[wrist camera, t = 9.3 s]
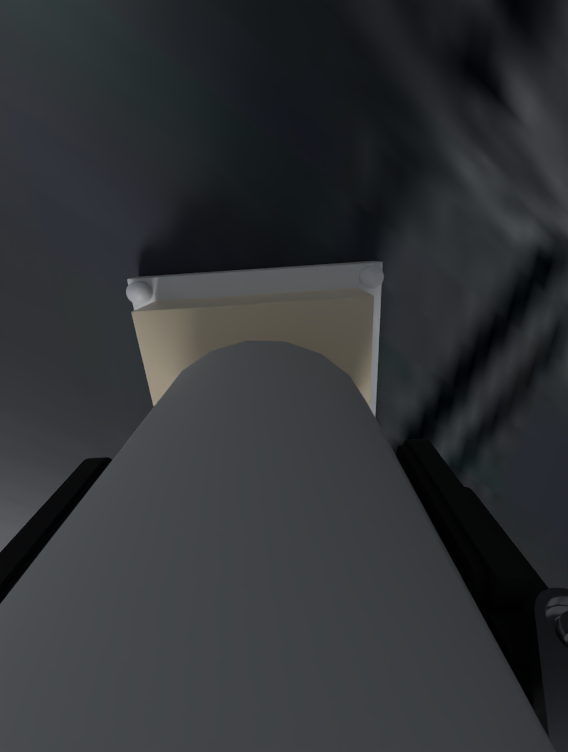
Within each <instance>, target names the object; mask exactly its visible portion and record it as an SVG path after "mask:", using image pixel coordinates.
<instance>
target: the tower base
mask: <svg viewBox="0 0 568 752" xmlns="http://www.w3.org/2000/svg"><path fill="white" fill-rule="evenodd" d="M382 264H383V262H379V261H366V262H351V263H336V264H321V265H306V266H291V267H276V268H261V269H246V270H231V271H216V272H202V273H187V274H172V275H157V276H142V277H135V278H131V279H127V281H128V287H127V289H126V294H127V297H128V298H129V300H130V301H131V302H133V307H134V311H132V312H131V313H132V317H133V321H134V325H135V330H136V334H137V338H138V342H139V346H140V351H141V355H142V359H143V363H144V368H145V372H146V376H147V380H148V384H149V389H150V393H151V397H152V401H153V405H154V406H155V405H156V404H157V402H158V401H159V400H160V398H161V397H162V396H163V395H164V393H165V392H166V391H167V389H168V388H169V387H170V386H171V384H172V383H173V382H174V380H175V379H176V378H177V377H178V375H179V374H180V373H181V371H182V370H184V369H185V368H187V367H188V366H190V365H191V364H193V363H194V362H196V361H197V360H198V359H200V358H201V357H203V356H204V355H206V354H207V353H209V352H210V351H212V350H216V349H219V348H223V347H226V346H230V345H233V344H237V343H240V342H244V341H247V340H248V341H282V342H288V343H291V344H294V345H297V346H300V347H303V348H306V349H309V350H311V351H314V352H317V353H320V354H322V355H323V356H325V357H326V358H327V359H329V360H330V361H331V362H333V363H334V364H335V365H336V366H338V367H339V368H340V369H342V370H343V371H344V372H346V373H347V374H348V375H350V377H351V379H352V380H353V382H354V383H355V385H356V386H357V388H358V389H359V391H360V392H361V394H362V395H363V397H364V399H365V400H366V402H367V403H368V405H369V407H370V409H371V411H372V413H373V414H374V416H375V413H376V391H377V370H378V349H379V328H380V306H381V285H382V282H383V279H384V274H383V271H382Z"/></svg>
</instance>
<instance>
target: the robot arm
mask: <svg viewBox="0 0 568 752" xmlns="http://www.w3.org/2000/svg"><path fill="white" fill-rule="evenodd" d="M397 459H398V461H399V462H400V464H401V466H402V468H403V470H404V472H405V474H406V475H407V477H408V479H409V481H410V483H411V485H412V486H413V488H414V490H415V492H416V494H417V496H418V498H419V499H420V501H421V503H422V505H423V507H424V509H425V510H426V512H427V514H428V516H429V518H430V520H431V522H432V523H433V525H434V527H435V529H436V531H437V533H438V535H439V536H440V538H441V540H442V542H443V544H444V546H445V547H446V549H447V551H448V553H449V555H450V557H451V559H452V560H453V562H454V564H455V566H456V568H457V570H458V571H459V573H460V575H461V577H462V579H463V581H464V583H465V584H466V586H467V588H468V590H469V592H470V594H471V596H472V597H473V599H474V601H475V603H476V605H477V607H478V608H479V610H480V612H481V614H482V616H483V618H484V620H485V621H486V623H487V625H488V627H489V629H490V631H491V632H492V634H493V636H494V638H495V640H496V642H497V644H498V645H499V647H500V649H501V651H502V653H503V655H504V657H505V658H506V660H507V662H508V664H509V666H510V668H511V669H512V671H513V673H514V675H515V677H516V679H517V681H518V682H519V684H520V686H521V688H522V690H523V692H524V693H525V695H526V697H527V699H528V701H529V703H530V705H531V706H532V708H533V710H534V712H535V714H536V716H537V718H538V719H539V721H540V723H541V725H542V727H543V729H544V730H545V732H546V734H547V736H548V738H549V740H550V742H551V743H552V745H553V747H554V749H555V751H556V752H568V589H566V588H550V589H549V588H548V587H547V586H546V584H545V583H544V582H543V580H542V579H541V578H540V577H539V575H538V574H537V573H536V571H535V570H534V569H533V568H532V566H531V565H530V564H529V562H528V561H527V560H526V559H525V557H524V556H523V555H522V553H521V552H520V551H519V550H518V548H517V547H516V546H515V544H514V543H513V542H512V541H511V539H510V538H509V537H508V535H507V534H506V533H505V532H504V530H503V529H502V528H501V526H500V525H499V524H498V523H497V521H496V520H495V519H494V517H493V516H492V515H491V514H490V512H489V511H488V510H487V508H486V507H485V506H484V505H483V503H482V502H481V501H480V499H479V498H478V497H477V496H476V494H475V493H474V492H473V491H472V490H471V489H470V488H468V487H464V486H463V485H462V484H461V482H460V481H459V480H458V478H457V477H456V476H455V474H454V473H453V472H452V470H451V469H450V468H449V466H448V465H447V464H446V462H445V461H444V460H443V458H442V457H441V456H440V454H439V453H438V452H437V450H436V449H435V448H434V446H433V445H432V444H431V442H430V441H429V440H428V439H414V440H405V441H404V444H403V446H398V448H397ZM111 461H112V460H111V458H108V457H106V458H89V459H86V460H84V461H83V462H82V463H81V464H80V465H79V466H78V468H77V469H76V470H75V471H74V472H73V473H72V474H71V475H70V476H69V477H68V479H67V480H66V481H65V482H64V483H63V484H62V485H61V486H60V487H59V488H58V490H57V491H56V492H55V493H54V494H53V495H52V496H51V497H50V498H49V499H48V501H47V502H46V503H45V504H44V505H43V506H42V507H41V508H40V509H39V510H38V512H37V513H36V514H35V515H34V516H33V517H32V518H31V519H30V520H29V521H28V523H27V524H26V525H25V526H24V527H23V528H22V529H21V530H20V531H19V532H18V534H17V535H16V536H15V537H14V538H13V539H12V540H11V541H10V542H9V543H8V544H7V546H6V547H5V548H4V549H3V550H2V551H1V552H0V604H1V602H2V601H3V600H4V599H5V597H6V596H7V595H8V593H9V592H10V591H11V590H12V588H13V587H14V586H15V584H16V583H17V582H18V581H19V579H20V578H21V577H22V575H23V574H24V573H25V572H26V570H27V569H28V568H29V566H30V565H31V564H32V563H33V561H34V560H35V559H36V558H37V556H38V555H39V554H40V552H41V551H42V550H43V549H44V547H45V546H46V545H47V543H48V542H49V541H50V540H51V538H52V537H53V536H54V534H55V533H56V532H57V531H58V529H59V528H60V527H61V525H62V524H63V523H64V522H65V520H66V519H67V518H68V516H69V515H70V514H71V513H72V511H73V510H74V509H75V507H76V506H77V505H78V504H79V502H80V501H81V500H82V498H83V497H84V496H85V495H86V493H87V492H88V491H89V490H90V488H91V487H92V486H93V484H94V483H95V482H96V481H97V479H98V478H99V477H100V475H101V474H102V473H103V472H104V470H105V469H106V468H107V466H108V465H109V464H110V463H111Z"/></svg>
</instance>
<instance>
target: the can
mask: <svg viewBox="0 0 568 752" xmlns="http://www.w3.org/2000/svg"><path fill="white" fill-rule="evenodd" d="M0 752H556V751H555V749H554V747H553V745H552V743H551V742H550V740H549V738H548V736H547V734H546V732H545V730H544V729H543V727H542V725H541V723H540V721H539V719H538V718H537V716H536V714H535V712H534V710H533V708H532V706H531V705H530V703H529V701H528V699H527V697H526V695H525V693H524V692H523V690H522V688H521V686H520V684H519V682H518V681H517V679H516V677H515V675H514V673H513V671H512V669H511V668H510V666H509V664H508V662H507V660H506V658H505V657H504V655H503V653H502V651H501V649H500V647H499V645H498V644H497V642H496V640H495V638H494V636H493V634H492V632H491V631H490V629H489V627H488V625H487V623H486V621H485V620H484V618H483V616H482V614H481V612H480V610H479V608H478V607H477V605H476V603H475V601H474V599H473V597H472V596H471V594H470V592H469V590H468V588H467V586H466V584H465V583H464V581H463V579H462V577H461V575H460V573H459V571H458V570H457V568H456V566H455V564H454V562H453V560H452V559H451V557H450V555H449V553H448V551H447V549H446V547H445V546H444V544H443V542H442V540H441V538H440V536H439V535H438V533H437V531H436V529H435V527H434V525H433V523H432V522H431V520H430V518H429V516H428V514H427V512H426V510H425V509H424V507H423V505H422V503H421V501H420V499H419V498H418V496H417V494H416V492H415V490H414V488H413V486H412V485H411V483H410V481H409V479H408V477H407V475H406V474H405V472H404V470H403V468H402V466H401V464H400V462H399V461H398V459H397V457H396V455H395V453H394V451H393V449H392V448H391V446H390V444H389V442H388V440H387V438H386V437H385V435H384V433H383V431H382V429H381V427H380V425H379V424H378V422H377V420H376V418H375V416H374V414H373V413H372V411H371V409H370V407H369V405H368V403H367V402H366V400H365V399H364V397H363V395H362V394H361V392H360V391H359V389H358V388H357V386H356V385H355V383H354V382H353V380H352V379H351V377H350V375H348V374H347V373H346V372H344V371H343V370H342V369H340V368H339V367H338V366H336V365H335V364H334V363H333V362H331V361H330V360H329V359H327V358H326V357H325V356H323V355H322V354H320V353H317V352H314V351H311V350H309V349H306V348H303V347H300V346H297V345H294V344H291V343H288V342H282V341H248V340H247V341H244V342H240V343H237V344H233V345H230V346H226V347H223V348H219V349H216V350H212V351H210V352H209V353H207V354H206V355H204V356H203V357H201V358H200V359H198V360H197V361H196V362H194V363H193V364H191V365H190V366H188V367H187V368H185V369H184V370H182V371H181V373H180V374H179V375H178V377H177V378H176V379H175V380H174V382H173V383H172V384H171V386H170V387H169V388H168V389H167V391H166V392H165V393H164V395H163V396H162V397H161V398H160V400H159V401H158V402H157V404H156V405H155V406H154V407H153V409H152V410H151V411H150V413H149V414H148V415H147V416H146V418H145V419H144V420H143V422H142V423H141V424H140V425H139V427H138V428H137V429H136V430H135V432H134V433H133V434H132V436H131V437H130V438H129V439H128V441H127V442H126V443H125V445H124V446H123V447H122V448H121V450H120V451H119V452H118V454H117V455H116V456H115V457H114V459H113V460H112V461H111V463H110V464H109V465H108V466H107V468H106V469H105V470H104V472H103V473H102V474H101V475H100V477H99V478H98V479H97V481H96V482H95V483H94V484H93V486H92V487H91V488H90V490H89V491H88V492H87V493H86V495H85V496H84V497H83V498H82V500H81V501H80V502H79V504H78V505H77V506H76V507H75V509H74V510H73V511H72V513H71V514H70V515H69V516H68V518H67V519H66V520H65V522H64V523H63V524H62V525H61V527H60V528H59V529H58V531H57V532H56V533H55V534H54V536H53V537H52V538H51V540H50V541H49V542H48V543H47V545H46V546H45V547H44V549H43V550H42V551H41V552H40V554H39V555H38V556H37V558H36V559H35V560H34V561H33V563H32V564H31V565H30V566H29V568H28V569H27V570H26V572H25V573H24V574H23V575H22V577H21V578H20V579H19V581H18V582H17V583H16V584H15V586H14V587H13V588H12V590H11V591H10V592H9V593H8V595H7V596H6V597H5V599H4V600H3V601H2V602H1V604H0Z"/></svg>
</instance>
